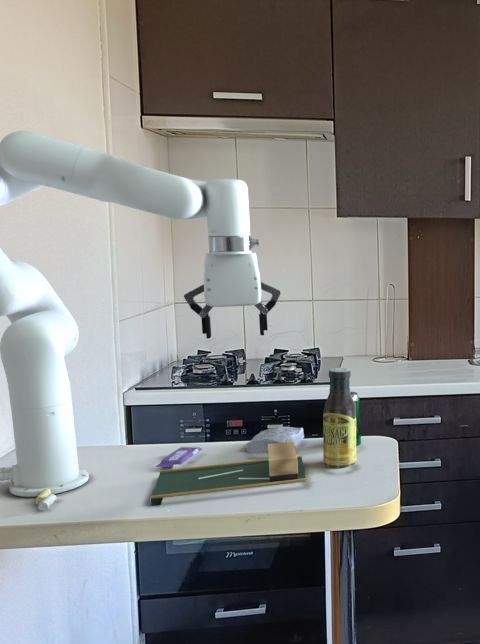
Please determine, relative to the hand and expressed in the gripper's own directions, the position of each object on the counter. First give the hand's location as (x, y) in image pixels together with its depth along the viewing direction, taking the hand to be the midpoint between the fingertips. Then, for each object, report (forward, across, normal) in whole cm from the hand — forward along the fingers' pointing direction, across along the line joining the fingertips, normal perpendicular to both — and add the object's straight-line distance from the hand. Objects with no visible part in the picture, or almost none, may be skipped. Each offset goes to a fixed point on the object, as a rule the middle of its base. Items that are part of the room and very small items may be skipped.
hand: (235, 335), depth 143 cm
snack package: (+26, +12, -8) cm, 30 cm away
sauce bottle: (+26, -18, +7) cm, 33 cm away
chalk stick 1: (+26, +33, +6) cm, 42 cm away
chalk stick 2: (+26, +32, +9) cm, 42 cm away
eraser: (+25, -7, +8) cm, 27 cm away
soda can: (+26, -21, -5) cm, 34 cm away
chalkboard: (+26, +2, +8) cm, 28 cm away
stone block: (+26, -6, -10) cm, 29 cm away
